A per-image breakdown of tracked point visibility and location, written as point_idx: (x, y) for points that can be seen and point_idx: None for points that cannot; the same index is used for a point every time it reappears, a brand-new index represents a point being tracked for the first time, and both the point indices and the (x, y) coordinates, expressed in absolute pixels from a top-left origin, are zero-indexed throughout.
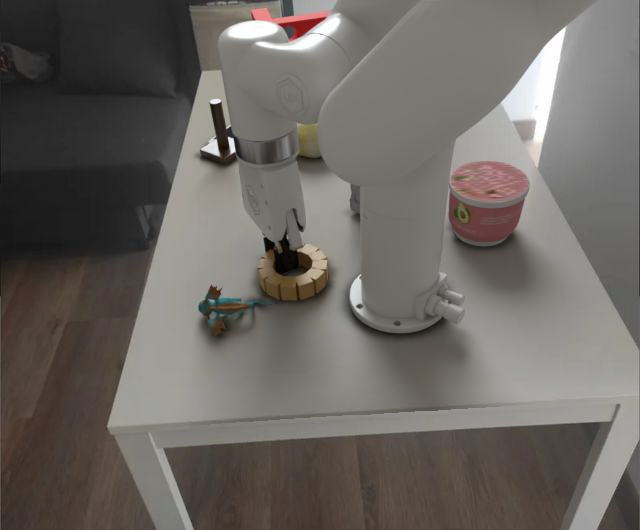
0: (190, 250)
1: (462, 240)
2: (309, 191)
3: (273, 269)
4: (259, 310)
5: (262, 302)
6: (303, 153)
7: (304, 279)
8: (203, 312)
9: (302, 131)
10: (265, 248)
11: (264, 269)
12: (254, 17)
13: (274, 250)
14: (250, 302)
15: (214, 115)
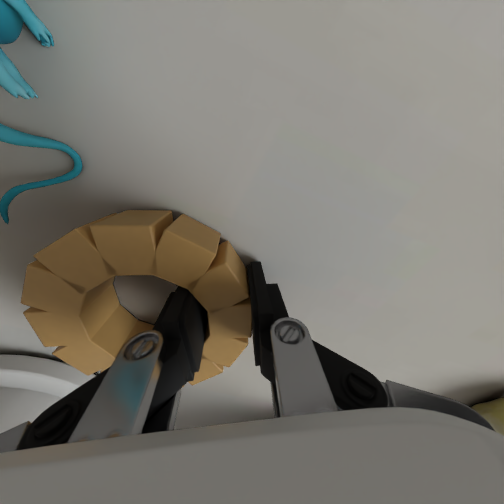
0: (480, 36)
1: None
2: (406, 382)
3: (136, 274)
4: (39, 161)
5: (42, 182)
6: (499, 412)
7: (57, 332)
8: None
9: None
10: (261, 285)
11: (145, 248)
12: None
13: (175, 324)
14: (41, 139)
15: None
